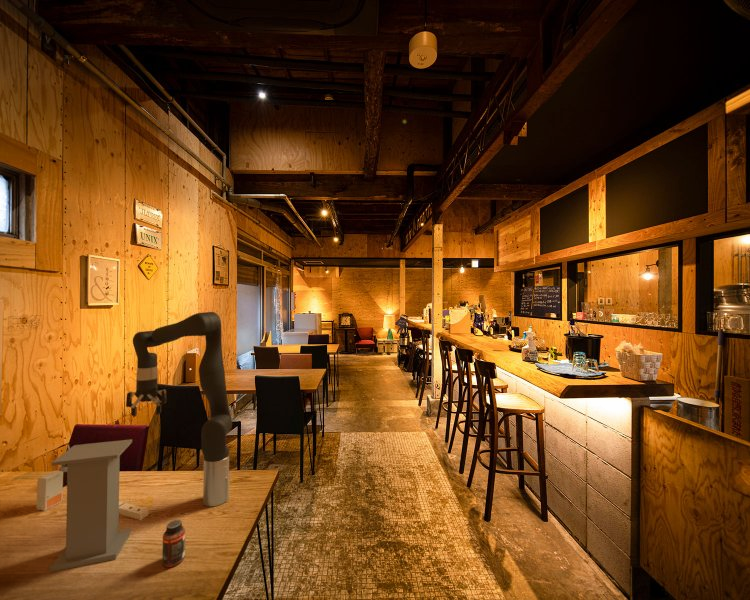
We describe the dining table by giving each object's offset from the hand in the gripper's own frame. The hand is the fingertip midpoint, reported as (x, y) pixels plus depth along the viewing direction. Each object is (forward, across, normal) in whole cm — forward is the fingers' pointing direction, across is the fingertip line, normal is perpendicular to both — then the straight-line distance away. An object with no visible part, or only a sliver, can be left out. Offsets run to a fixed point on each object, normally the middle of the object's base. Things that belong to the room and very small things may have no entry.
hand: (146, 415), depth 141 cm
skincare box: (+30, -30, -5) cm, 43 cm away
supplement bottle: (+30, +22, -50) cm, 62 cm away
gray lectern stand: (+30, -3, -38) cm, 49 cm away
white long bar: (+30, -3, -17) cm, 35 cm away
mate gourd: (+30, -32, +12) cm, 46 cm away
